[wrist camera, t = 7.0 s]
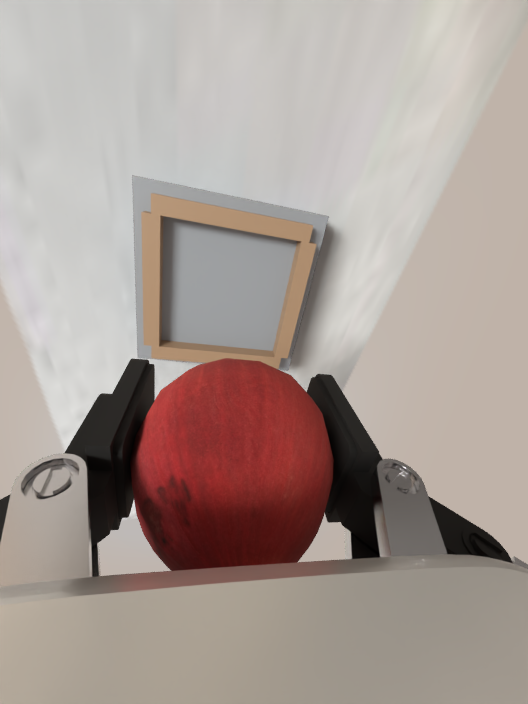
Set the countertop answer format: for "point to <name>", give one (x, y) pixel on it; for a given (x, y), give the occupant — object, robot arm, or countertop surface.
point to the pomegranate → (231, 468)
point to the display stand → (220, 274)
